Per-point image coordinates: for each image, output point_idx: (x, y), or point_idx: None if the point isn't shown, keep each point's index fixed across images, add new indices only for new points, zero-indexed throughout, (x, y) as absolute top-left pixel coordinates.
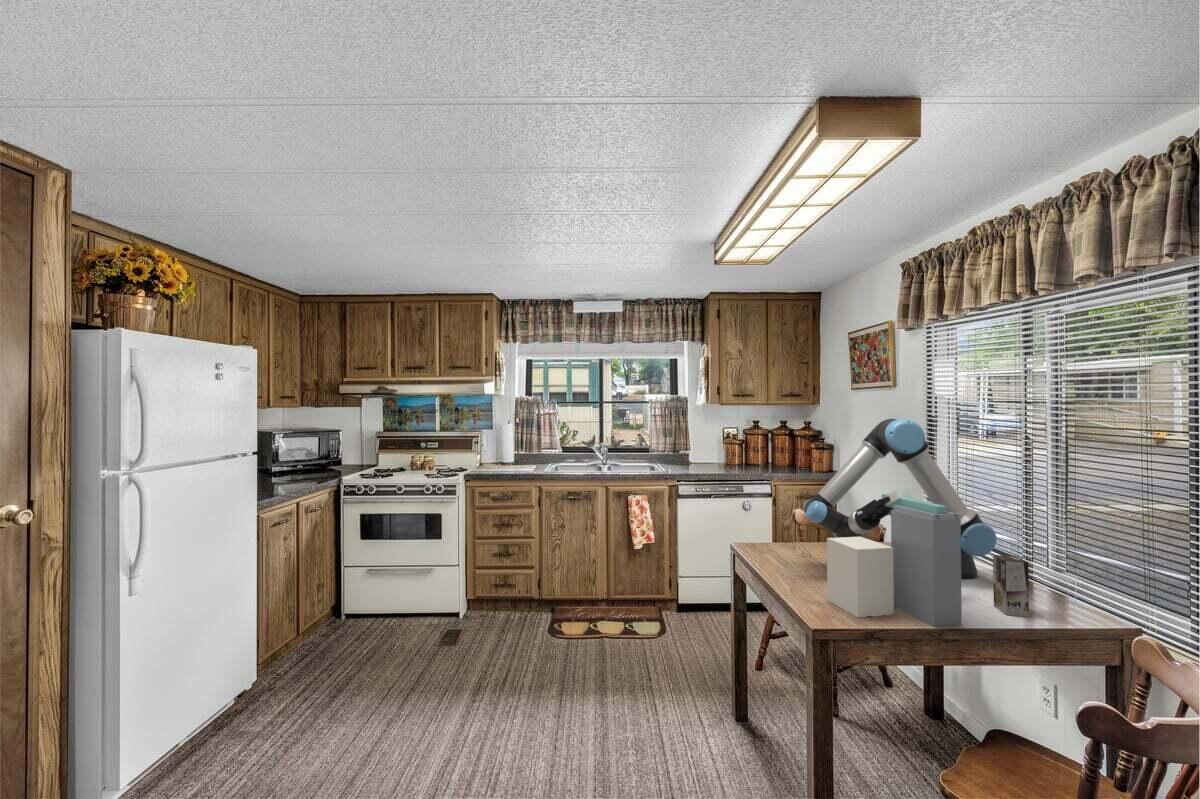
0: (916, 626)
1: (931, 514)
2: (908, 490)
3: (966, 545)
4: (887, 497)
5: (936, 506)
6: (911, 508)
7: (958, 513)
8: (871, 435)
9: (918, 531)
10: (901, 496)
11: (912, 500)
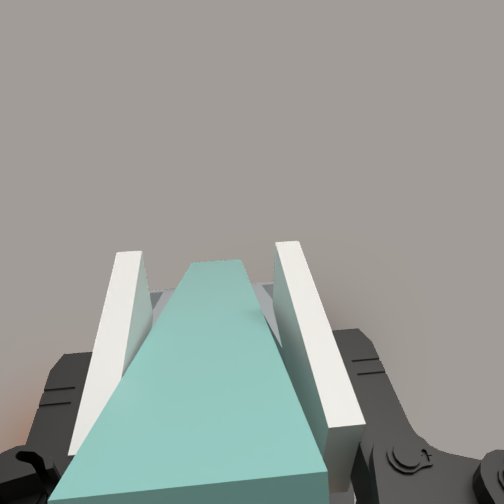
0: None
1: (271, 283)
2: (142, 254)
3: None
4: (346, 338)
5: (237, 260)
6: (270, 318)
7: (152, 291)
8: None
9: None
10: (149, 352)
11: (230, 288)
